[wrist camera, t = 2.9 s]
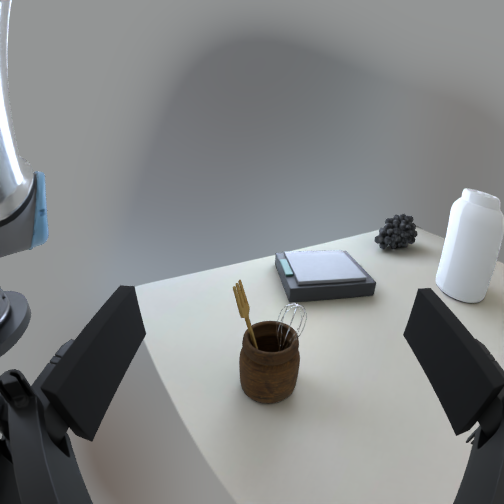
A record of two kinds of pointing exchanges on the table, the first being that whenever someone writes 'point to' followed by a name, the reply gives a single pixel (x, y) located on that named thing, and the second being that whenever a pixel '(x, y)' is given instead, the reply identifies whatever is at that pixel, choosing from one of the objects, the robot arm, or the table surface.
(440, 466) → the table surface
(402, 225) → the fruit
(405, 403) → the table surface
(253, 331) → the utensil holder
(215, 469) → the table surface
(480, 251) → the can
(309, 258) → the scale
